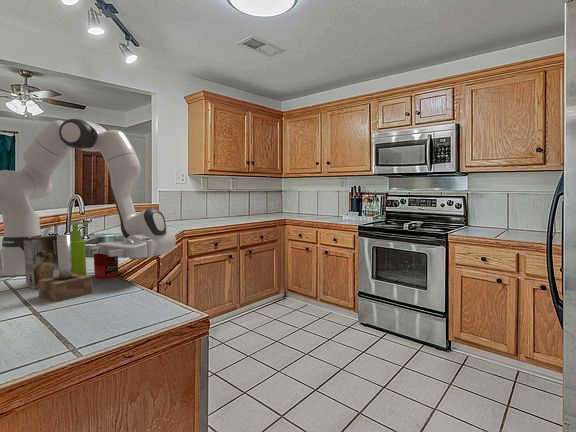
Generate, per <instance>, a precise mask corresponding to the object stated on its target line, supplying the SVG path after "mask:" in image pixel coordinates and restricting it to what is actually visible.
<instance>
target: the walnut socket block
mask: <svg viewBox="0 0 576 432" xmlns="http://www.w3.org/2000/svg"><path fill="white" fill-rule="evenodd" d="M38 285H39V288H38V296H39V298H43V299H46V300H50V301H54V302H61V301H66V300H70V299H74V298H77V297H82V296H85V295H90V294H92V293H93V277H92V276H90V275H86V276H85V275H80V274H75V273H72V279H69V280H64V281H59V276H56V277H51V278H46V279H40V280H38Z"/></svg>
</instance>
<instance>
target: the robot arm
mask: <svg viewBox="0 0 576 432" xmlns="http://www.w3.org/2000/svg"><path fill="white" fill-rule="evenodd" d="M72 149H75V150H80V151H83V152H94V153H100V154H101V156H102V158H103V160H104V162H105V164H106V167H107V170H108V174H109V177H110V190H111V193H112V194H111V195H112V198H113V201H114V204H115V207H116V210H117V213H118V216H119V220H120V231H121V234H122V235H123V237H124V238H125V240H124V241H106V242H99V243H96V245H95V247H96V248H94V247H93V248H89V254H90V255H94V254H97V253H98V254H105V255H107V256H109V257H112V256H118V257H121V258H129V259H130V260H134V261H135V260H141V259H152V258H153V257H156V256H162V255H164V254H168V253H170V252H171V251H173V250H174V248H175V246H176V244H177V238H176V235H175V234H174V233H173V232H172V231H171V230H170V229H169V228H168V226H167V224H166V219H165V216H164V214H163V213H162V212H161V211H160V210H159V209H157V208H153V207H149V208H147V209H144V210H142V211H141V212H139V213H136V209H135V206H134V204H133V199H132V195H131V191H132V188H133V187H134V184H135V182H136V181H137V180H138V178H139V176H140V174H141V171H142V169H141V163H140V160H139V158H138V156H137V154H136V151H135V149H134V148H133V145H132V144H131V143H130V140H129V139H128V137H127V136H126V135H125V134H124V132H123V131H120V130H118V129H110V130H109V129H108V128H106V127H105V126H103V125H100V124H99V123H96V122H92V121H89V120H88V121H87V120H83V119H81V118H69V119H66V120H60V119H56V120H53V121H52V122H50V123H49V124H48V125H47V126H45V127H44V128H43V129H42V130H41V131H40V132H39V133H38V134H37V135H36V136H35V138H34V139H33V140H32V142H31V143H30V144H29V146H28V147H27V148H26V149H25V150H24V152H23V159H24V161H25V163H24V166H23V168H22V169H21V170H9V169H2V170H0V214H1V216H2V224H3V237H2V240H1V246H2V247H1V248H0V277H12V276H13V277H14V276H15V277H16V276H26V274H25V258H24V243H23V238H33V237H43V236H42V234H41V225H40V223H41V222H40V221H41V220H40V215H39V213H38V212H36V211H35V210H34V209H33V208H32V206H31V204H30V200H33V201H35V200H39V199H42V198H46V197H48V196H49V195H50V194H51V193H52V190H53V182H52V181H51V180H52V177H53V175H54V173H55V170H57V168H58V167H59V166H60V164H61V163H62V161H63V160H64V159H65V157H66V156H67V155H68V154H69V152H70V151H71V150H72Z"/></svg>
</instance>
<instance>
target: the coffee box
mask: <svg viewBox="0 0 576 432" xmlns="http://www.w3.org/2000/svg"><path fill="white" fill-rule="evenodd" d="M23 243H24V258H25V274H26V275H25V287H26V288H27V287H28V288H31V289H34V290H37V289H38V290H39V285H38V280H40V279H46V278H51V277H52V269H53V268H58V250H57V235H47V236H45V235H43V236H42V237H33V238H23Z"/></svg>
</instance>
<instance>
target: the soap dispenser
mask: <svg viewBox="0 0 576 432" xmlns="http://www.w3.org/2000/svg"><path fill="white" fill-rule="evenodd" d="M69 225H70V226H71V227H72V230H71V231H70V232H69V235H71V259H72V273H75V274H80V275H85V276H87V260H86V259H87V255H86V240H84V239H82V231H80V230H79V225H88V222H85V221H84V222H83V221H76V222H69Z"/></svg>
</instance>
